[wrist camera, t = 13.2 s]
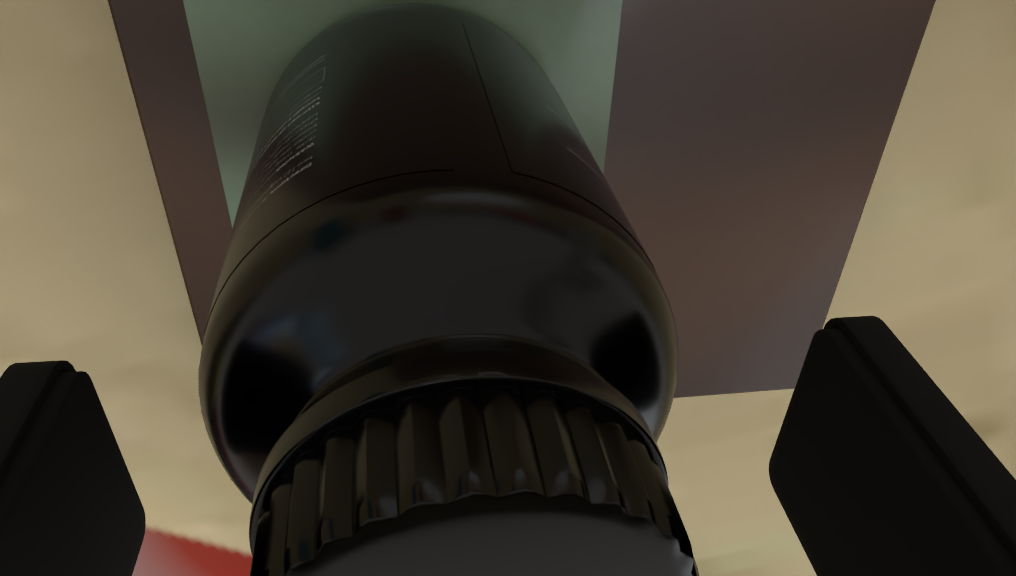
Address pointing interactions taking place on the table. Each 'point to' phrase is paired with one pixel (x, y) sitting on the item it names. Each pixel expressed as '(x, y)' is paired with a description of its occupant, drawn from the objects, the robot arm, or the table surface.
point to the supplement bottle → (438, 322)
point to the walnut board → (598, 140)
